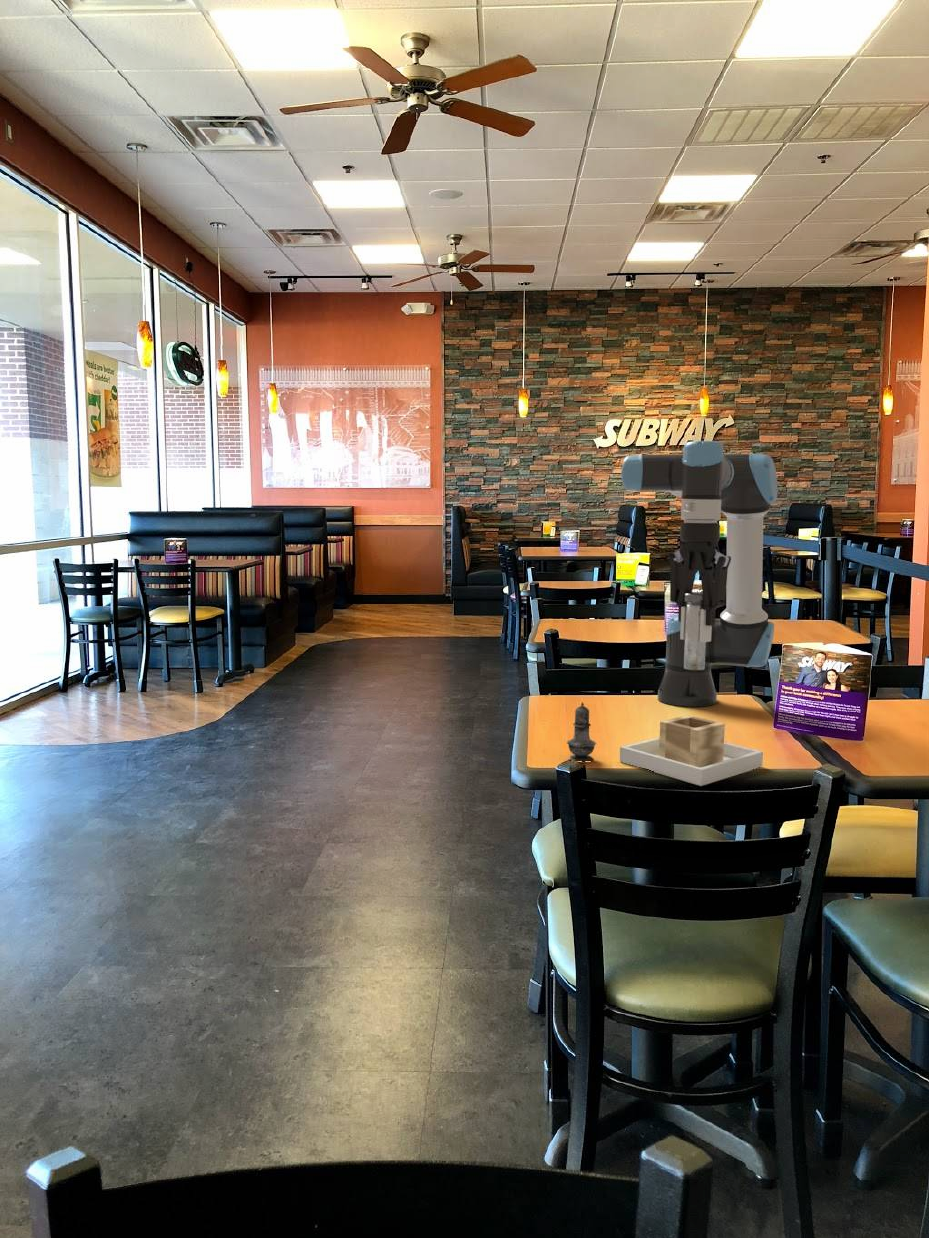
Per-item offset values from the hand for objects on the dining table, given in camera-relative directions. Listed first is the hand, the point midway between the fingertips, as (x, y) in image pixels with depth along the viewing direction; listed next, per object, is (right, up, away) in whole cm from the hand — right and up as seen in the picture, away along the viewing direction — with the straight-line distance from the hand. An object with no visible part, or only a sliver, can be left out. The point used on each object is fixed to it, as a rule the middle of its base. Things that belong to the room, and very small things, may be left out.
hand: (695, 640), depth 184 cm
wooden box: (0, -25, +3) cm, 25 cm away
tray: (0, -25, +3) cm, 25 cm away
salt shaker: (-22, -25, +6) cm, 34 cm away
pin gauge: (0, -6, +1) cm, 6 cm away
